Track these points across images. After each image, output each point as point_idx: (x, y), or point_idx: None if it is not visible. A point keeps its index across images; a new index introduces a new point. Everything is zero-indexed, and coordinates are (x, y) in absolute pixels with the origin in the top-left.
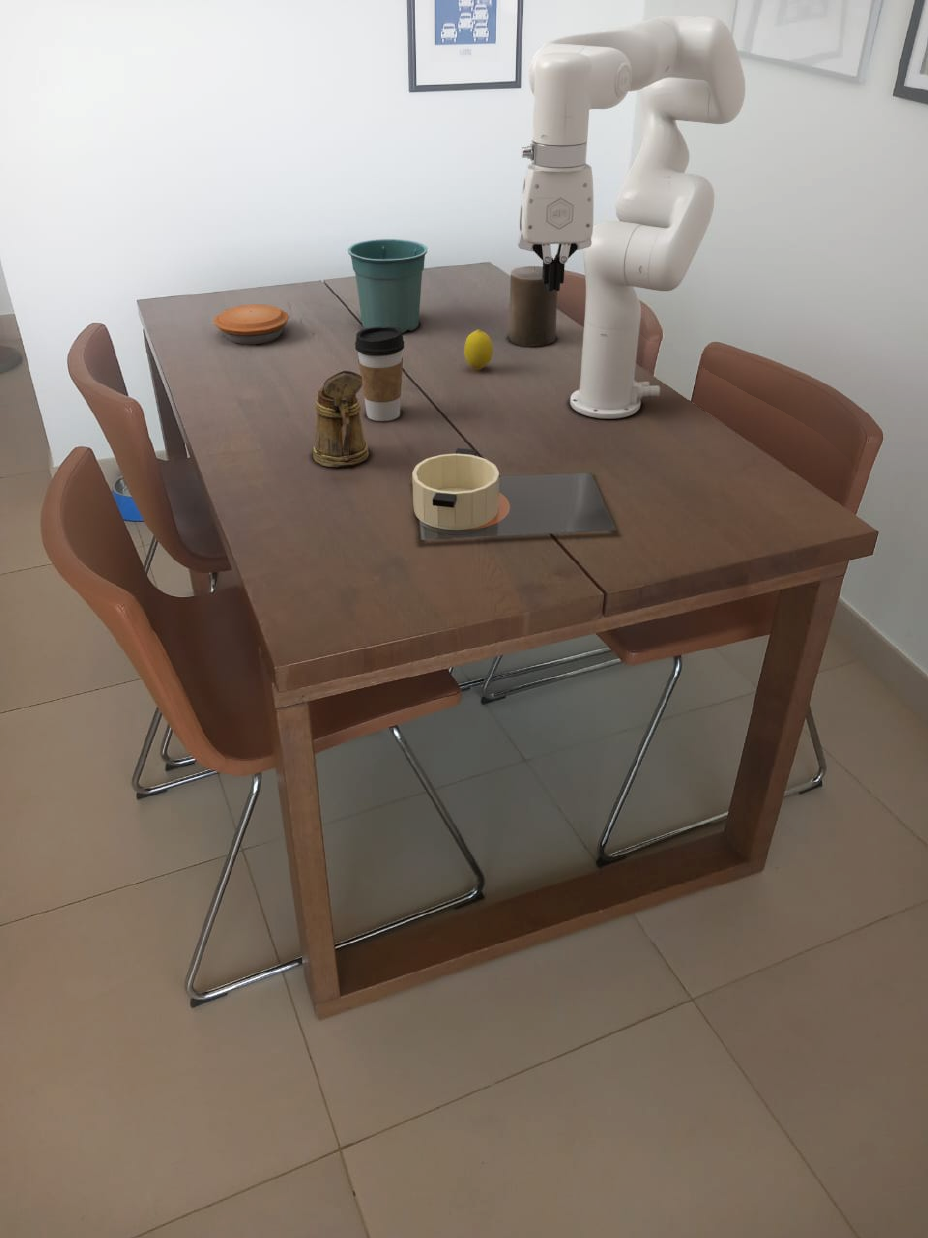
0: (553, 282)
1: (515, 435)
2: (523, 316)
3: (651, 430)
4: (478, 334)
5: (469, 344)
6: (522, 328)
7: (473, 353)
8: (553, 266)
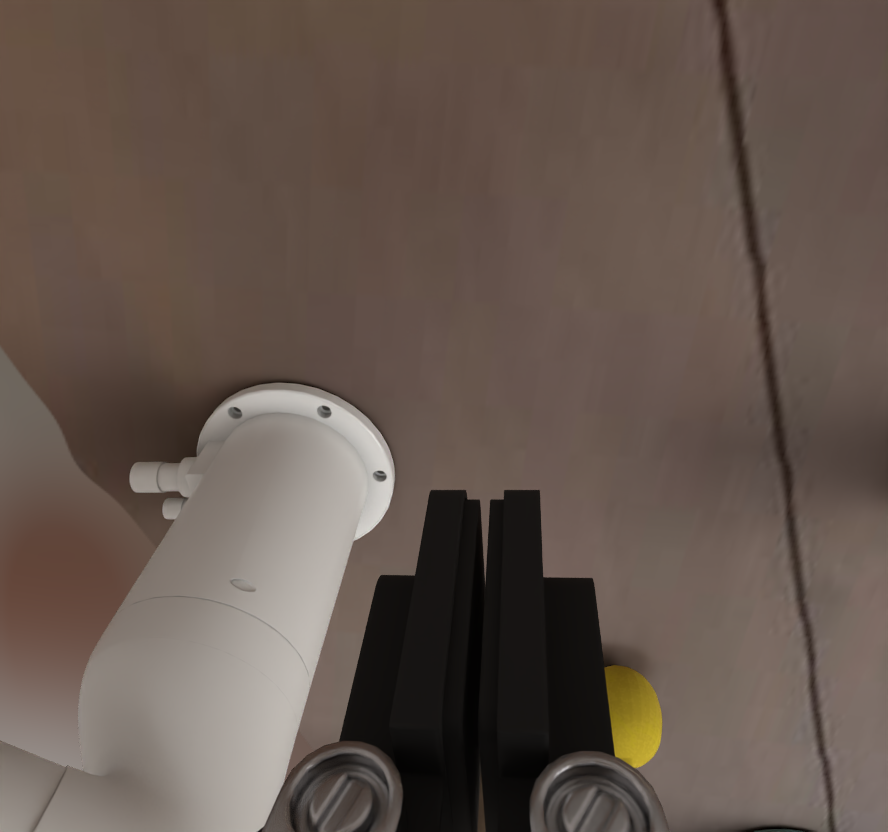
0: (494, 549)
1: (585, 299)
2: (479, 826)
3: (165, 307)
4: (629, 751)
5: (654, 723)
6: (482, 795)
7: (641, 696)
8: (500, 702)
